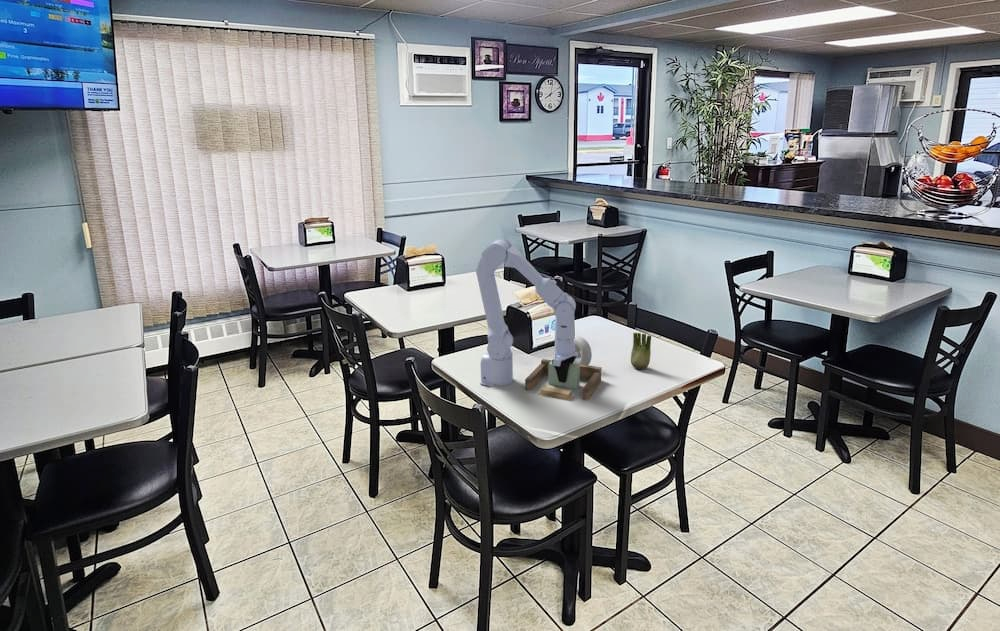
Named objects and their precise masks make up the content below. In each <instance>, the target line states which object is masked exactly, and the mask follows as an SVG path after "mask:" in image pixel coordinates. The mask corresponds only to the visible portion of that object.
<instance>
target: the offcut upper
mask: <svg viewBox="0 0 1000 631" xmlns="http://www.w3.org/2000/svg"><path fill="white" fill-rule="evenodd" d="M540 391H541V394H542V395H541V396H544V395H548V396H547V397H550V396H553V397H552V398H555V397H559V398H558V399H560V398H564V399H563V400H566V399H569V398H570V397H571V396H573V395H572V394H573V393H572V392H573V390H570V389H566V388H565V389H564V388H559V387H553V386H547V385H544V386H543V387H542V388H541V389H540Z"/></svg>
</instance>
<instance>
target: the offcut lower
mask: <svg viewBox="0 0 1000 631" xmlns="http://www.w3.org/2000/svg"><path fill="white" fill-rule="evenodd" d="M537 395H540V396H545V397H552V398H555V399H556V398H557V399H562V400H566V401H571V400H572V399H573V398H574V395H572V396H571V397H570V398H569V399H564V398H559V397H553V396H548V395H542V394H541V390H540V391H539V392H538V393H537Z"/></svg>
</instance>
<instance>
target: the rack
mask: <svg viewBox="0 0 1000 631" xmlns="http://www.w3.org/2000/svg"><path fill="white" fill-rule="evenodd" d="M552 360H553V359H545V358H542V359H541V361H540V364H539V365H537V367H536V368H535V369H534V370H533V371H532V372H531V373H530V374H528V376H527V377H526V378H525V380H524V385H525V387H524V388H525V389H524V390H525V391H531V390H533V388H534V387H535V386H536V385H537V384H538V383H539V382H540V380H541V379H542V378H544V376H545V375H548V368H549V363H550V362H551V361H552ZM573 364H575V363H573ZM576 365H580V380H581V381H582V380H583V381H587V382H586V383H585V385H584V386H583V388H582V400H584V401H585V400H586V401H589V399H590V398H591V396H592V395H593V394H594V392H595V390H597V388H598V386H599V385H600V383H601V381H602V372H603V371H602V368H603V367H602V366H595V365H590V364H589V365H582V364H576Z"/></svg>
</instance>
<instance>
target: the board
mask: <svg viewBox="0 0 1000 631" xmlns="http://www.w3.org/2000/svg"><path fill="white" fill-rule="evenodd" d="M547 375H548V378H547V381H548V383H547V384H548V385H552V386H557V387H564V388H569V389H576V390H577V389H579V387H580V380H581V379H580V365H576V364H571V365H570V367H569V370H568V375H567V380H566V382H565V383H563V382H559V381H558V377H557V373H556V370H555V367H554V366H553V364H552V361H551V362H550V363H549V368H548V374H547Z"/></svg>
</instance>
